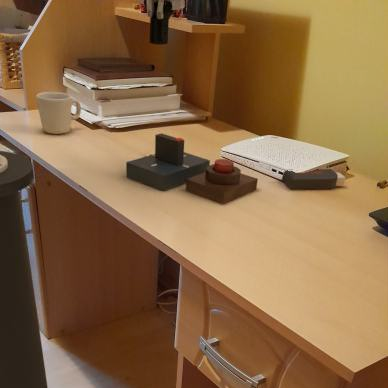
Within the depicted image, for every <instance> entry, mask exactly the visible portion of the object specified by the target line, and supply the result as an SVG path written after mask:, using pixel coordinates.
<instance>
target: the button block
mask: <svg viewBox="0 0 388 388" xmlns="http://www.w3.org/2000/svg"><path fill="white" fill-rule="evenodd" d="M214 164H215V163H214ZM214 164H213V163H212V164H210V166H207V168H206V172H205V173H202V174H200V175H197V176H194V177H191V178H188V179H186V183H185V191H186V192H189V193H191V194H194V195H197V196H199V197H203V198H205V199H208V200H211V201H214V202H216V203H219V204H222V205H224V204H227V203H229V202H231V201H234V200H236V199H238V198H241V197H243V196H245V195H247V194H249V193H252V192H254V191H257V188H258V181H259V179H258V178H257V177H255V176H250V175H248V174H245V173H242V170H241V169H240V168H239V167H238V166H235V165H233V172H232V173H218V172H215V171H214Z"/></svg>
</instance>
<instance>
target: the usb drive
mask: <svg viewBox="0 0 388 388" xmlns="http://www.w3.org/2000/svg"><path fill="white" fill-rule="evenodd" d="M288 170H289V169H286V170H285V171H284V172H283V173H282V176H281V181H282V182H283V184H285V186H286V187H287V188H288V189H289V190H290V191H297V190H298V191H302V190H305V191H307V190H310V191H311V190H313V191H314V190H333V189H335V188H336V187H344V186H345V183H346V179H347V178H346V176H344V175H343V174H342V173H341V172H339V171H337V172H336V171H334V169H332V168H320V169H319V168H318V170H313V171H309V172H305V173H295V172H293V171H288Z"/></svg>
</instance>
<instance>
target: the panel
mask: <svg viewBox="0 0 388 388" xmlns="http://www.w3.org/2000/svg"><path fill="white" fill-rule="evenodd" d="M210 165H211V160H210V159H207V158H204V157H201V156H198V155H194V154H191V153H188V152H185V151H184V157H183V164H180V165H175V164H172V163H169V162H166V161H163V160H160V159H157V158H155V153H149V155H146V156H143V157H139V158H135V159H131V160H129V161H126V162H125V170H126V173H125V174H126V178H128V179H131V180H133V181H136V182H139V183H141V184H144V185H147V186H149V187H152V188H155V189H157V190H160V191H163V192H165V191H168V190H171V189H173V188H176V187H178V186H179V187H180V186H181V185H186V179H188V178H191V177H194V176H197V175H200V174H202V173H205V172H206V168H207V166H210Z"/></svg>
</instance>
